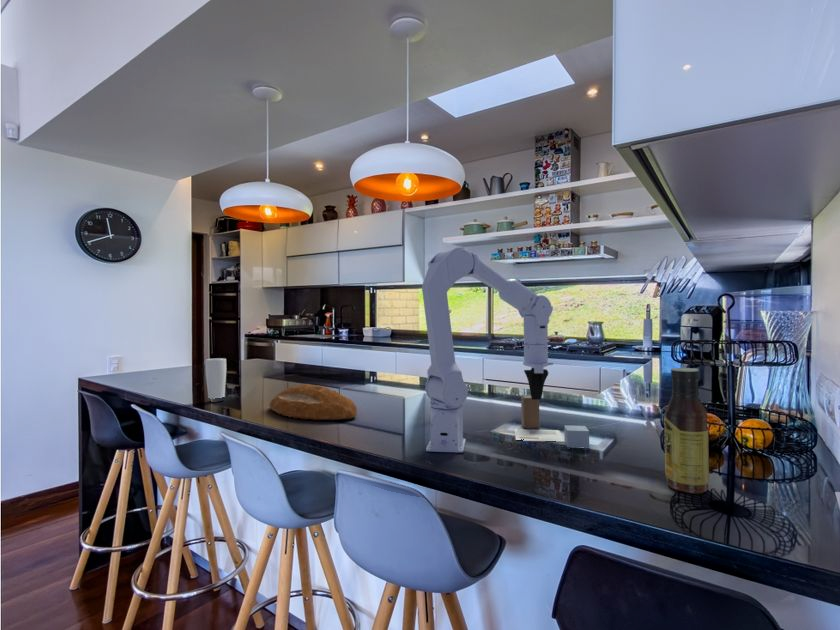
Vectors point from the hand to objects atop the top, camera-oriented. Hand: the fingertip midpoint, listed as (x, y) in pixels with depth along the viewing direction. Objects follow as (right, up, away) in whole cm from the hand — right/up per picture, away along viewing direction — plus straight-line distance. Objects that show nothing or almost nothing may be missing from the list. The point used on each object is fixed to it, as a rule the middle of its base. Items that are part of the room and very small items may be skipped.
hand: (536, 399), depth 111 cm
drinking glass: (-100, -10, +47) cm, 111 cm away
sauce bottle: (+15, -8, -36) cm, 41 cm away
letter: (0, -8, -3) cm, 9 cm away
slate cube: (+6, -8, -12) cm, 15 cm away
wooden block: (0, -8, +5) cm, 10 cm away
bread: (-62, -10, +26) cm, 68 cm away
